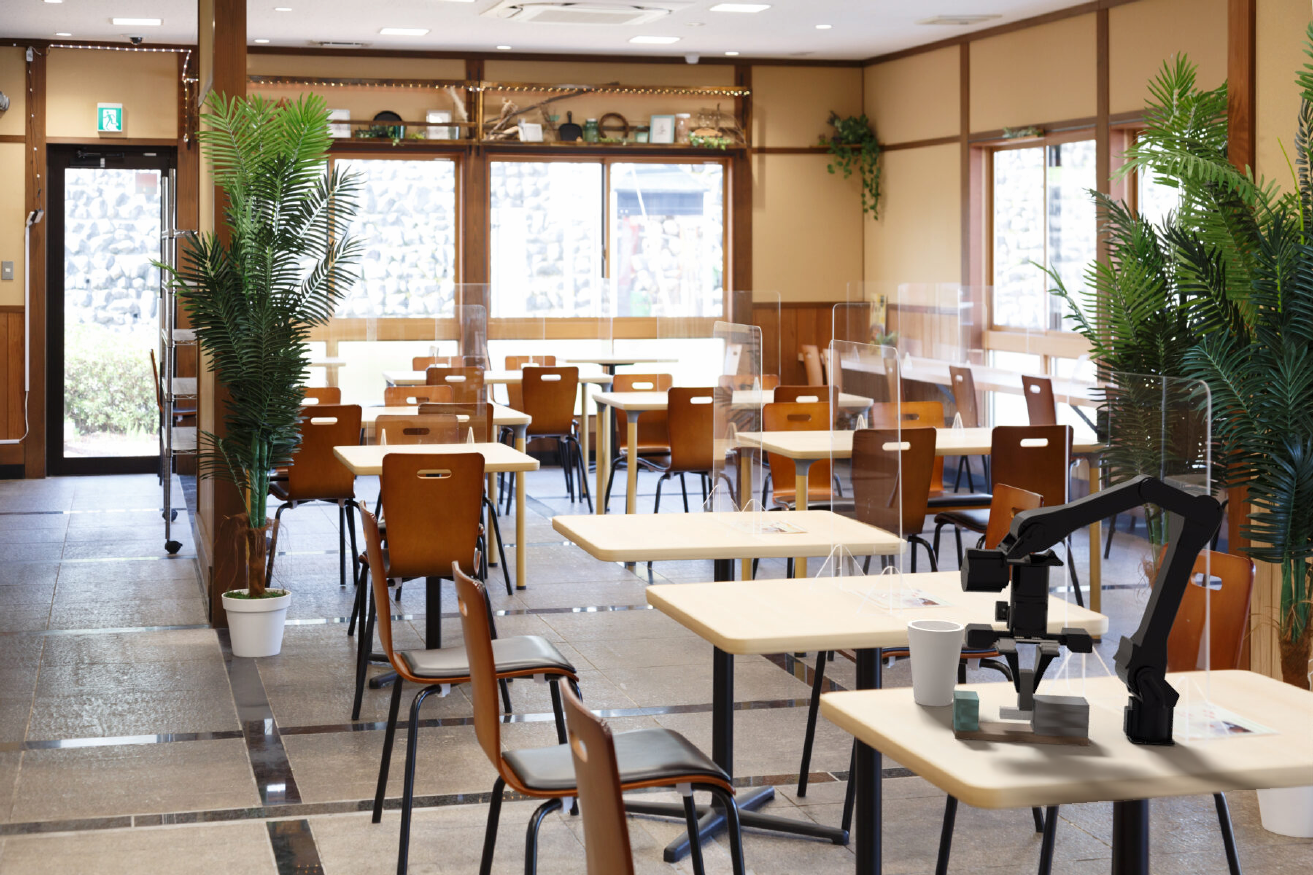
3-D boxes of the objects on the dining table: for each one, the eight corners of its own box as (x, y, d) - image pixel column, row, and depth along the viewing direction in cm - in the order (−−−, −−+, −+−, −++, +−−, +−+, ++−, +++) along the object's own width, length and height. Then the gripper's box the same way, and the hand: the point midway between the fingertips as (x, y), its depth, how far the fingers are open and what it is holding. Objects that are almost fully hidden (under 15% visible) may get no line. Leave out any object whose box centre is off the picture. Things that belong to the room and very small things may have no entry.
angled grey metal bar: (1083, 719, 222) (1085, 671, 222) (1085, 724, 220) (1088, 675, 219) (999, 715, 224) (1001, 667, 223) (1000, 719, 221) (1002, 671, 221)
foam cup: (971, 706, 239) (974, 630, 237) (921, 710, 236) (923, 632, 235) (944, 692, 248) (947, 618, 247) (895, 695, 245) (898, 620, 244)
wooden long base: (1081, 732, 225) (1082, 695, 224) (1088, 745, 218) (1090, 707, 217) (951, 725, 227) (953, 688, 227) (955, 738, 220) (956, 700, 220)
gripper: (1082, 586, 227) (1078, 682, 229) (963, 581, 230) (959, 676, 231) (1095, 599, 216) (1090, 701, 218) (969, 594, 219) (965, 694, 220)
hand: (1025, 692), depth 222 cm, fingers closed on angled grey metal bar, 2 cm apart
